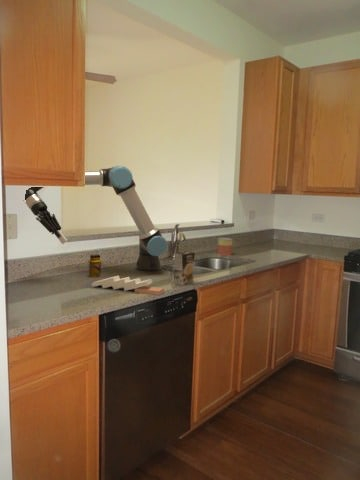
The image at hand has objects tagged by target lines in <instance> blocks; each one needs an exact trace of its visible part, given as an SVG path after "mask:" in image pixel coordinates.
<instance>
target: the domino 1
mask: <svg viewBox="0 0 360 480" xmlns="http://www.w3.org/2000/svg"><path fill="white" fill-rule="evenodd" d="M119 279H121V278H120V275H115V276H111V277H106V278H102V279H99V280H96V281H93V282H94V283H92V287H95V286H99V285H103V284H107V283H111V282H114V281H117V280H119Z"/></svg>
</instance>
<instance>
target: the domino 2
mask: <svg viewBox="0 0 360 480" xmlns="http://www.w3.org/2000/svg"><path fill="white" fill-rule="evenodd" d="M130 280H131V278H130V276H127V277H123V278H120V279H119V280H117V281H114V282H111V283H107V284H103V285H102V287H103V288H107V287H110V286H114V285H118V284H122V283H126V282H128V281H130Z"/></svg>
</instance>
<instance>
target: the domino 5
mask: <svg viewBox="0 0 360 480" xmlns="http://www.w3.org/2000/svg"><path fill="white" fill-rule="evenodd" d="M164 288H165V287H155V286H149V285H147V286H143V287H139V288H135V292H137V293H139V294H146V295H153V296H154V295H155V296H160V295H162V294H163V293H164V291H165V289H164Z"/></svg>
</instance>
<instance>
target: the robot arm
mask: <svg viewBox="0 0 360 480" xmlns="http://www.w3.org/2000/svg"><path fill="white" fill-rule="evenodd" d="M84 171H85V170H84ZM91 185H92V186H96V185H98V186H101V187H111V188H113V191H114V192H115V194H116V196H120V198H121V200H122V202H123V203H124V205H125V207H126V210H128V212H129V215H130V217H131V218H132V221H133V222H134V224H135V226H136V228H137V229H138V232H139V236H138V237H139V239H138V240H139V243H138V244H139V246H138V247H139V248H138V251H139V252H138V253H139V254H138V258H137V261H136V264H135V269H136V270H139V271H146V272H151V271H152V272H155V271H160V270H162V264H161V259H160V256H163V255H164V254H165V252H167V249H168V241H167V240H166V238H165V237H164V236H163V235H162V233H161V231H160V229H159V227H156V226H155V225H154V223H153V221H152V219H151V217H150V216H149V213H148V211H147V210H146V208H145V206H144V204H143V202H142V200H141V199H140V197H139V194H138V192H137V191H136V183H135V181H134V179H133V174H132V171H131V170H130V169H129V168H128V167H126V166H123V165H116V166H111V167H108V168H100V169H99V170H86V171H85V184H84V185H83V186H91ZM42 189H44V187H31V188H29V189H28V190H26V194H25V200H26V203H25V204H27V205H26V206H27V207H28V208H29V210H30V212H32V214H33V215H34V216H35V219H36V221H38V222H39V223H40V224H41V225H42V226H43V227H44V228H45V229H46V230H47V231H48V232H49V233H51V235H55V237H56V238H57V239H58V240H59V242H60V244H62V245H64V244H66V242H67V241H68V239H67V238H66V237H65V235H64V234H63V232H62V231H61V230H62V226H61V225H60V223H59V222H58V220H57V217H56V214H54V213H52V214H51V213H50V211H48V205H47V204H46V203H45V201H43V199H42V197H41V196H40V195H39V193H38V192H39V191H40V190H42ZM36 216H37V217H36Z"/></svg>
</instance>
